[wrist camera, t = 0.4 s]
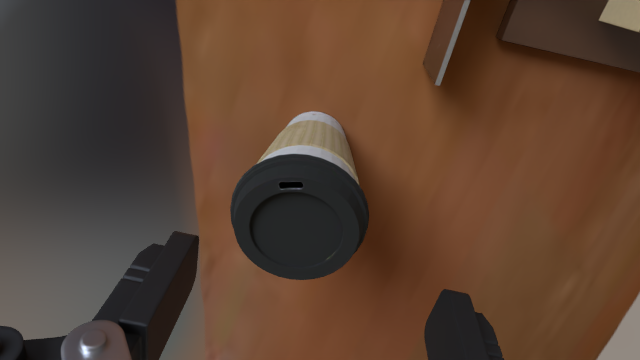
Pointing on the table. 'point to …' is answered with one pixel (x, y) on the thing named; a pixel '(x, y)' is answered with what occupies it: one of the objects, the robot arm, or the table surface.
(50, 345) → the robot arm
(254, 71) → the table surface
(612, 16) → the cake slice
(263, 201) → the coffee cup
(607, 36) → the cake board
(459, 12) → the knife
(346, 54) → the table surface
